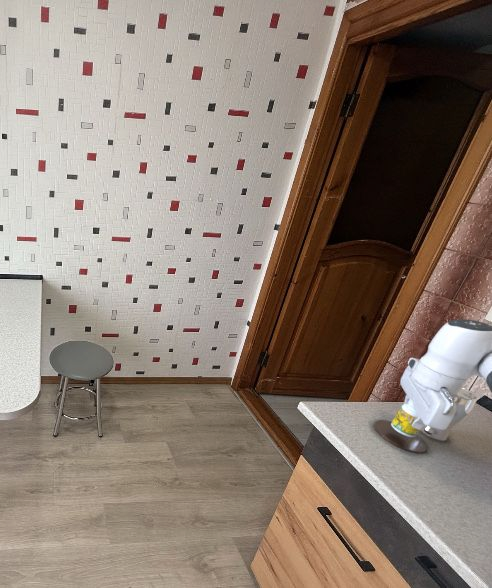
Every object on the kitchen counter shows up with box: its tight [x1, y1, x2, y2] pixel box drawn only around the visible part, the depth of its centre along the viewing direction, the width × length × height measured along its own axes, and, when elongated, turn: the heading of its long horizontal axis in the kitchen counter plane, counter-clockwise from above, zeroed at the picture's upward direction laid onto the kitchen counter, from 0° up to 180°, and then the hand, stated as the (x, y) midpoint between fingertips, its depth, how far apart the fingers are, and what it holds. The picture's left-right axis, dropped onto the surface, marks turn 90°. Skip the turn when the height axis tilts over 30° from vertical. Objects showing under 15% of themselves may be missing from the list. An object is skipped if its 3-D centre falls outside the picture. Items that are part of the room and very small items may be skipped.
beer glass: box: [419, 386, 479, 442], centre depth 92 cm, size 7×7×15 cm
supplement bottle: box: [391, 399, 421, 437], centre depth 89 cm, size 5×5×10 cm
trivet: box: [373, 419, 427, 454], centre depth 92 cm, size 11×11×1 cm
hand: (410, 418), depth 90 cm, fingers closed on supplement bottle, 5 cm apart
